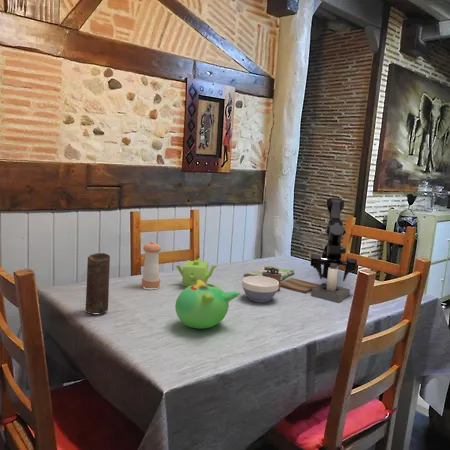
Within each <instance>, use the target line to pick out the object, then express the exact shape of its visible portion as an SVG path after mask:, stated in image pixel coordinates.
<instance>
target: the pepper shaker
mask: <svg viewBox="0 0 450 450" xmlns="http://www.w3.org/2000/svg"><path fill="white" fill-rule="evenodd" d="M142 249H143V251H144V262H143V269H142V277H141V288H142V287H145V288H158V287H159V286H160V284H161V283H160V281H161V280H160V266H159V265H160V264H159V256H160V255H159V252H160V251H161V250H162V247H161V245H160V244H158V243H155V241H153V240H152V241H150V242H148V243H145V244H144V245H143V247H142ZM159 288H160V287H159Z"/></svg>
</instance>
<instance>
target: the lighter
mask: <svg viewBox="0 0 450 450" xmlns="http://www.w3.org/2000/svg"><path fill="white" fill-rule="evenodd" d="M263 267H264V266H263ZM274 267H275V266H273V267H272V268H270V267H264V270H267V272H262V276H264V277H269V278H273V279H275V280H277V281H278V282H279V288H278V290H277V292H276V293H279V292H281V287H280V282H281V281H280V279H281V273H278V272H279V269H280V268H279V267H278V268H277V267H276V268H274ZM269 271H270V272H269ZM275 271H276V272H275Z"/></svg>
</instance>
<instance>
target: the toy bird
mask: <svg viewBox="0 0 450 450" xmlns="http://www.w3.org/2000/svg"><path fill="white" fill-rule="evenodd" d="M240 294H241V293H240V291H230V292H225V291H224V290H222V288H220V287H219V286H217V285H215V284H211V283H204V282H203V281H202V280H197V283H196V284H194V285H191V286H189V287H187V288H184V289H183V290H182V291H181V292H180V293H179V294H178V296H177V298H176V301H175V306H174V307H175V309H174V310H175V312H176V313H175V314H176V315H177V318H178V319H179V321H181V323H183V324H184V325H186V326H187V327H189V328H193V329H200V330H202V329H210V328H213V327H214V326H216V325H218V324H220V322H221V321H223V320H224V319H225V317H226V315H227V314H228V311H229V305H230V303H229V302H230V301H232V300H234V299H236V298H238V297H239V296H240Z"/></svg>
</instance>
